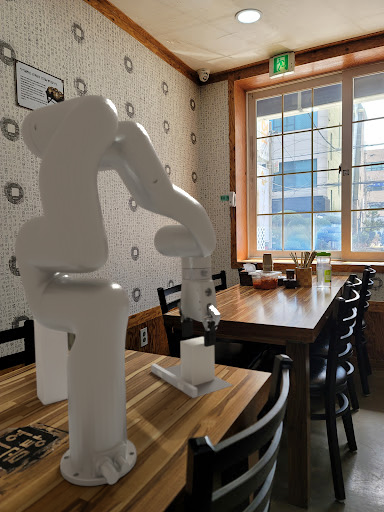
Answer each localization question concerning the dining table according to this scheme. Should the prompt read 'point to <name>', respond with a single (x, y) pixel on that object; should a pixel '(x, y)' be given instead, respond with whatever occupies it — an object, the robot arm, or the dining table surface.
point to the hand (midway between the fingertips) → (198, 340)
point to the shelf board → (174, 378)
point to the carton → (197, 361)
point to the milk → (51, 364)
